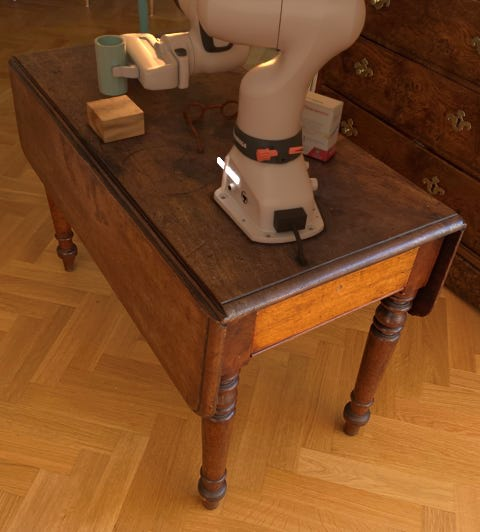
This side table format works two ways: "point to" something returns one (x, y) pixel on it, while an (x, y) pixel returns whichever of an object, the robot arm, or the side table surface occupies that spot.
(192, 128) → the glasses
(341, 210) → the side table surface
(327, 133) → the ink box
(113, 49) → the tumbler
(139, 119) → the block
